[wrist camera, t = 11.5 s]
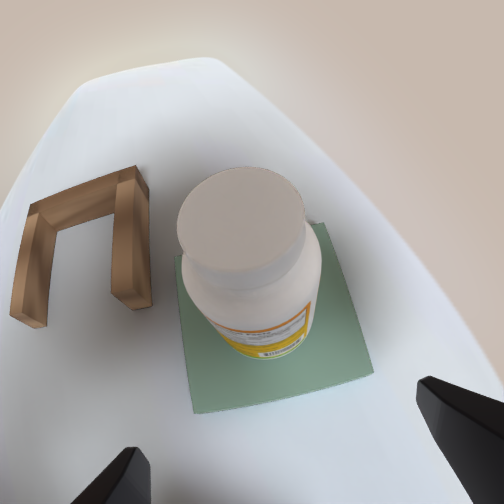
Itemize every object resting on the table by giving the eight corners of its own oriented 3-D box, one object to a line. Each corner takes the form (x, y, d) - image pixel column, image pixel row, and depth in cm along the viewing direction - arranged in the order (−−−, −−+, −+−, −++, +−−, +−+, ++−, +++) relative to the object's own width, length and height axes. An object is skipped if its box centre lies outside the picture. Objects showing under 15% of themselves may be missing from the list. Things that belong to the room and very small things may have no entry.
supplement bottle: (245, 259, 20) (210, 138, 11) (327, 292, 18) (351, 176, 10) (202, 336, 18) (122, 253, 9) (288, 377, 16) (282, 329, 8)
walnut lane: (152, 306, 20) (132, 288, 18) (33, 328, 20) (9, 315, 18) (149, 189, 26) (135, 165, 23) (47, 222, 26) (30, 204, 23)
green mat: (369, 375, 17) (373, 372, 16) (199, 413, 17) (193, 413, 16) (322, 232, 22) (323, 222, 21) (179, 265, 22) (174, 257, 21)
